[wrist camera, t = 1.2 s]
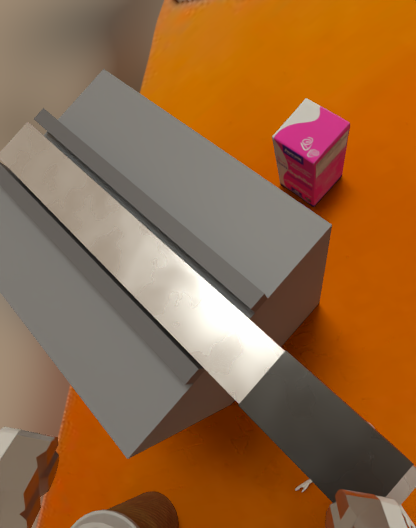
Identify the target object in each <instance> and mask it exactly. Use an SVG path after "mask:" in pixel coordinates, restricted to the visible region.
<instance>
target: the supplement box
mask: <svg viewBox="0 0 416 528" xmlns="http://www.w3.org/2000/svg"><path fill="white" fill-rule="evenodd" d="M349 129H350V123H349V122H348V121H346V120H344V119H343V118H341V117H339V116H337V115H336V114H334V113H332V112H330V111H329V110H327V109H325V108H323V107H321V106H320V105H318V104H316V103H314V102H312V101H311V100H309V99H307V98H305V100H304V101H303V102H302V103H301V104H300V106H299V107H298V108H297V109H296V110H295V111H294V113H293V114H292V115H291V116H290V117H289V118H288V119H287V121H286V122H285V123H284V124H283V125H282V126H281V127H280V128H279V130H278V131H277V132H276V133H275V134H274V135H273V136H272V139H273V144H274V150H275V156H276V161H277V167H278V173H279V178H280V184H281V185H283V186H284V187H286V188H288V189H289V190H291V191H292V192H294V193H295V194H296V195H298V196H299V197H301V198H302V199H303V200H305V201H306V202H308V203H309V204H310V205H311V206H313V207H314V206H315V205H316V204H317V203H318V202H319V201H320V200H321V198H322V197H323V196H324V195H325V194H326V193H327V192H328V191H329V190H330V189H331V187H332V186H333V185H334V184H335V183H336V182H337V181H338V180H339V178H340V177H341V176H342V171H343V165H344V159H345V152H346V147H347V140H348V134H349Z"/></svg>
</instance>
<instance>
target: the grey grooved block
mask: <svg viewBox="0 0 416 528" xmlns="http://www.w3.org/2000/svg"><path fill="white" fill-rule="evenodd" d="M34 120H35V121H37V122H38V123H39V124H40V125H41V126H42V127H43V128H45V129H46V130H47V132H46V134H45V135H44V136H45V137H46V138H47V139H48V140H50V141H51V142H52V143H53V144H54V145H55V146H56V147H57V148H59V149H60V150H61V151H62V152H63V153H64V154H65V155H66V156H68V157H69V158H70V159H71V160H72V161H73V162H74V163H75V164H77V165H78V166H79V167H80V168H81V169H82V170H83V171H84V172H85V173H87V174H88V175H89V176H90V177H91V178H92V179H93V180H94V181H96V182H97V183H98V184H99V185H100V186H101V187H102V188H103V189H105V190H106V191H107V192H108V193H109V194H110V195H111V196H112V197H114V198H115V199H116V200H117V201H118V202H119V203H120V204H121V205H123V206H124V207H125V208H126V209H127V210H128V211H129V212H130V213H132V214H133V215H134V216H135V217H136V218H137V219H138V220H139V221H140V222H142V223H143V224H144V225H145V226H146V227H147V228H148V229H149V230H151V231H152V232H153V233H154V234H155V235H156V236H157V237H158V238H160V239H161V240H162V241H163V242H164V243H165V244H166V245H167V246H169V247H170V248H171V249H172V250H173V251H174V252H175V253H176V254H178V255H179V256H180V257H181V258H182V259H183V260H184V261H185V262H186V263H188V264H189V265H190V266H191V267H192V268H193V269H194V270H195V271H197V272H198V273H199V274H200V275H201V276H202V277H203V278H204V279H206V280H207V281H208V282H209V283H210V284H211V285H212V286H213V287H215V288H216V289H217V290H218V291H219V292H220V293H221V294H222V295H224V296H225V297H226V298H227V299H228V300H229V301H230V302H231V303H233V304H234V305H235V306H236V307H237V308H238V309H239V310H240V311H241V312H243V313H244V314H245V315H246V316H247V317H248V318H249V319H250V320H252V321H253V322H254V323H255V324H256V325H257V326H258V327H259V328H261V329H262V330H263V331H264V332H265V333H266V334H267V335H268V336H270V337H271V338H272V339H273V340H274V341H275V342H276V343H277V344H279V345H280V346H282V345H283V344H284V343H285V342H286V341H287V340H288V338H289V337H290V336H291V335H292V334H293V333H294V332H295V330H296V329H297V328H298V327H299V326H300V325H301V323H302V322H303V321H304V320H305V319H306V318H307V317H308V315H309V314H310V313H311V312H312V311H313V310H314V308H315V307H316V306H317V305H318V304H319V301H320V295H321V289H322V283H323V277H324V271H325V264H326V258H327V252H328V246H329V240H330V234H331V228H332V224H330V223H329V222H327V221H326V220H324V219H323V218H321V217H320V216H318V215H317V214H315V213H314V212H313V211H311V210H310V209H308V208H307V207H305V206H304V205H302V204H301V203H299V202H298V201H296V200H295V199H293V198H292V197H291V196H289V195H288V194H286V193H285V192H283V191H282V190H280V189H279V188H277V187H276V186H274V185H273V184H271V183H270V182H269V181H267V180H266V179H264V178H263V177H261V176H260V175H258V174H257V173H255V172H254V171H252V170H251V169H250V168H248V167H247V166H245V165H244V164H242V163H241V162H239V161H238V160H236V159H235V158H233V157H232V156H230V155H229V154H228V153H226V152H225V151H223V150H222V149H220V148H219V147H217V146H216V145H214V144H213V143H211V142H210V141H208V140H207V139H206V138H204V137H203V136H201V135H200V134H198V133H197V132H195V131H194V130H192V129H191V128H189V127H188V126H186V125H185V124H184V123H182V122H181V121H179V120H178V119H176V118H175V117H173V116H172V115H170V114H169V113H167V112H166V111H164V110H163V109H162V108H160V107H159V106H157V105H156V104H154V103H153V102H151V101H150V100H148V99H147V98H145V97H144V96H142V95H141V94H140V93H138V92H137V91H135V90H134V89H132V88H131V87H129V86H128V85H126V84H125V83H123V82H122V81H120V80H119V79H118V78H116V77H115V76H113V75H112V74H110V73H109V72H107V71H106V70H104V69H103V70H102V71H101V73H100V74H99V75H98V76H97V77H96V78H95V79H94V80H93V81H92V83H91V84H90V85H89V86H88V87H87V88H86V89H85V90H84V92H83V93H82V94H81V95H80V96H79V97H78V98H77V99H76V101H75V102H74V103H73V104H72V105H71V106H70V107H69V108H68V109H67V110H66V111H65V113H64V114H63V115H62V116H61V117H60V118H59V119H58V120H57V119H56V118H55V117H53V116H52V115H51V114H50V113H49V112H47V111H46V110H45V109H42V110H41V111H40V112H39V114H38V115H37V116H36V117H35V118H34ZM0 293H1V294H2V295H3V296H4V298H5V299H6V301H7V302H8V303H9V304H10V306H11V307H12V308H13V310H14V311H15V312H16V314H17V315H18V316H19V317H20V319H21V320H22V321H23V323H24V324H25V325H26V327H27V328H28V329H29V331H30V332H31V333H32V334H33V336H34V337H35V338H36V340H37V341H38V342H39V344H40V345H41V346H42V348H43V349H44V350H45V352H46V353H47V354H48V355H49V357H50V358H51V359H52V361H53V362H54V363H55V364H56V366H57V367H58V369H59V370H60V371H61V372H62V374H63V375H64V376H65V377H66V379H67V380H68V382H69V383H70V384H71V386H72V387H73V388H74V389H75V391H76V392H77V393H78V395H79V396H80V397H81V399H82V400H83V401H84V403H85V404H86V405H87V406H88V408H89V409H90V410H91V412H92V413H93V414H94V416H95V417H96V418H97V420H98V421H99V422H100V423H101V425H102V426H103V427H104V429H105V430H106V431H107V433H108V434H109V435H110V437H111V438H112V439H113V440H114V442H115V443H116V444H117V446H118V447H119V448H120V450H121V451H122V452H123V454H124V455H125V456H126V457H127V459H129V458H130V457H132V456H134V455H136V454H138V453H140V452H142V451H144V450H146V449H147V448H149V447H151V446H153V445H155V444H157V443H159V442H161V441H163V440H165V439H166V438H168V437H170V436H172V435H174V434H176V433H178V432H180V431H182V430H184V429H185V428H187V427H189V426H191V425H193V424H195V423H197V422H199V421H201V420H203V419H204V418H206V417H208V416H210V415H212V414H214V413H216V412H218V411H220V410H222V409H223V408H225V407H227V406H229V405H231V404H232V403H233V402H234V401H235V399H234V398H233V397H232V396H231V395H230V394H229V393H228V392H227V391H226V390H225V389H224V388H223V387H222V386H221V385H220V384H219V383H218V382H217V381H216V380H215V379H214V378H213V377H212V376H211V375H210V374H209V373H208V372H207V371H206V370H205V369H204V368H203V367H202V366H201V365H200V364H199V363H198V361H197V360H196V359H195V358H194V357H193V356H192V355H191V354H190V353H189V352H188V351H187V350H186V349H185V348H184V347H183V346H182V345H181V344H180V343H179V342H178V341H177V340H176V339H175V338H174V337H173V336H172V335H171V334H170V333H169V332H168V331H167V330H166V329H165V328H164V327H163V326H162V325H161V324H160V323H159V322H158V320H157V319H156V318H155V317H154V316H153V315H152V314H151V313H150V312H149V311H148V310H147V309H146V308H145V307H144V306H143V305H142V304H141V303H140V302H139V301H138V300H137V299H136V298H135V297H134V296H133V295H132V294H131V293H130V292H129V291H128V290H127V289H126V288H125V287H124V286H123V285H122V284H121V283H120V282H119V281H118V279H117V278H116V277H115V276H114V275H113V274H112V273H111V272H110V271H109V270H108V269H107V268H106V267H105V266H104V265H103V264H102V263H101V262H100V261H99V260H98V259H97V258H96V257H95V256H94V255H93V254H92V253H91V252H90V251H89V250H88V249H87V248H86V247H85V246H84V245H83V244H82V243H81V242H80V241H79V240H78V239H77V237H76V236H75V235H74V234H73V233H72V232H71V231H70V230H69V229H68V228H67V227H66V226H65V225H64V224H63V223H62V222H61V221H60V220H59V219H58V218H57V217H56V216H55V215H54V214H53V213H52V212H51V211H50V210H49V209H48V208H47V207H46V206H45V205H44V204H43V203H42V202H41V201H40V200H39V199H38V198H37V196H36V195H35V194H34V193H33V192H32V191H31V190H30V189H29V188H28V187H27V186H26V185H25V184H24V183H23V182H22V181H21V180H20V179H19V178H18V177H17V176H16V175H15V174H14V173H13V172H12V171H11V170H10V169H9V168H8V167H7V166H5V165H3V164H2V163H0Z"/></svg>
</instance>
